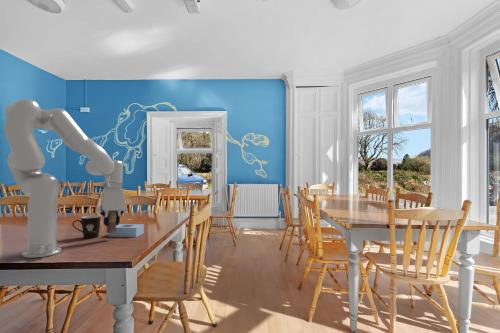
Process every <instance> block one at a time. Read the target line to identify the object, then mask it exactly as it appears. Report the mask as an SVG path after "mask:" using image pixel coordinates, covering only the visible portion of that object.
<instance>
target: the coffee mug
mask: <svg viewBox="0 0 500 333" xmlns="http://www.w3.org/2000/svg"><path fill="white" fill-rule="evenodd" d="M101 218H102V215H85V216H81V217H80V219H81V220H80V219H76V220H73V221H72V227H73V228H74V229H75V230H77V231H78V232H81V233H82V236H83V239H87V240H89V239H90V240H91V239H97V238H99V234H100V228H101ZM76 222H79V223H80V224H81V227H82V228H81V229H82V230H81V229H79V228H77V227H76V226H75V225H74V224H75V223H76Z"/></svg>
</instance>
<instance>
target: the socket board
mask: <svg viewBox="0 0 500 333" xmlns="http://www.w3.org/2000/svg"><path fill="white" fill-rule="evenodd" d="M144 233H145V224H139V223H138V224H132V223H131V224H130V223H129V224H128V223H127V224H126V223H123V224H122V223H121V224H120V223H119V225H116V232H114V233H108V237H109V238H110V237H112V238H115V237H116V238H118V237H119V238H120V237H121V238H137V237H139V236H141V235H143V234H144Z"/></svg>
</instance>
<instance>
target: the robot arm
mask: <svg viewBox="0 0 500 333" xmlns="http://www.w3.org/2000/svg"><path fill="white" fill-rule="evenodd" d="M4 116H5V117H6V118H5V121H4V125H3V126H4V128H3V129H4V135H5V137H6V140H7V143H8V146H9V148H10V150H11V151H10V153H9V154H8V156H7V165H8V168H9V170H10V172H11V175H12V176H13V179H14V181H15V182H16V184H17V186H18V188H19V189H20V191H21V192H22V193H23V194H24V195H26V196H29V197H28V198H29V199H28V203H27V204H28V205H27V250H25V251H23V252H22V257H23V258H28V259H29V258H30V259H34V258H37V259H38V258H45V257H50V256H53V255H57V254H60V253H61V252H62V248H61V247H60V246H58V245H57V244H58V198H59V194H60V183H59V180H58V178H56V177H55V176H54V175H52V174H50V173H47V172H46V173H45V172H42V170H41V169H42V168H44V166H45V164H46V159H45V155H44V154H43V151H42V149H41V147H40V145H39V144H38V141H37V138H36V135H35V132H34V129H39V130H44V131H54V132H55V133H56V134H57V136H58V137H59V138H60V139H61V140H62V142H63V143H64V144H65V145H66V146H67V147H68V148H69V149H70V150H72V151H74V152H77V153H79V154H81V155H83V156H84V157H86V158H87V159H88V161H87V162H86V164H85V169H86V172H87V173H89V175H92V176H104V177H105V178H104V183H102V184H101V185H100V186H101V187H103V189H102V193H101V197H100V204H99V205H98V207H97V208H96V210H95V211H96V212H97V213H99V214H100V216H101V217H103V225H104V226H105V227H107V226H108V221H109V218H108V212H109V211H117V220H116V225H119V224H120V219H121V216H122V215H123V214H124V213H125V212H127V211H128V207H127V205H126V194H125V190H124V189H123V174H124V172H123V171H124V163H123V161H121V160H116V159H113V160H112V158H111V157H110V155H109V154H108V153H107V151H106V150H105V149H103V147H102V146H100V145H99V144H98V143H96V142H95V141H93V140H92V139H91V138H89V137H88V136H87V135H86V133H85V132H84V131H83V130H82V129H81V127H80V126H79V125H78V124H77V122H76V121H75V120H74V119H73V117H72V116H71V115H70V114H69V112H68V111H67V110H65V109H63V108H51V109H43V108H41V106H40V104H38V102H37V101H35V100H34V99H30V98H23V99H20V100H19V99H18V100H16V101H14V102H12V103H11V102H10V104H8V105H7V106H6V107H5V110H4Z"/></svg>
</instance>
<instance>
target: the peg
mask: <svg viewBox="0 0 500 333" xmlns="http://www.w3.org/2000/svg"><path fill="white" fill-rule="evenodd" d="M108 218H109V221H108V226H106V233H107V234H109V233H114V232H116V220H117V211H109V212H108Z"/></svg>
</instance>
